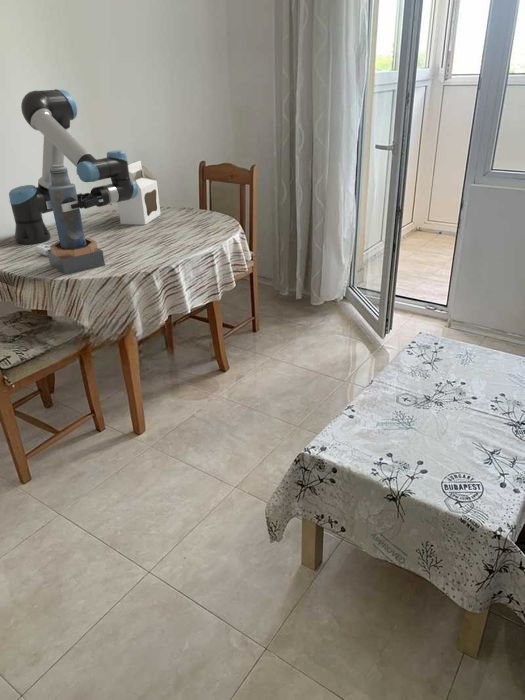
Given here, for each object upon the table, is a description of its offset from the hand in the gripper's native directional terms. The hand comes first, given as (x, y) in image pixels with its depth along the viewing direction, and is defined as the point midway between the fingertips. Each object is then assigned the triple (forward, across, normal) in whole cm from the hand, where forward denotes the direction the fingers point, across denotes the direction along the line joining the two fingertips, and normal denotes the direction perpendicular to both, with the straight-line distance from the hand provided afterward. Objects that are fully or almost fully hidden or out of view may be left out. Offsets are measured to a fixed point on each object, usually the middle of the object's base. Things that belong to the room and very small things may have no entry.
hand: (54, 206), depth 194 cm
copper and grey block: (-5, 0, -24) cm, 24 cm away
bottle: (-5, 0, -16) cm, 17 cm away
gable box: (-70, +34, -24) cm, 81 cm away
